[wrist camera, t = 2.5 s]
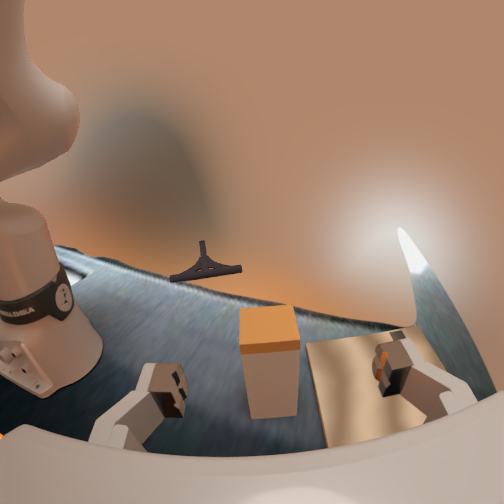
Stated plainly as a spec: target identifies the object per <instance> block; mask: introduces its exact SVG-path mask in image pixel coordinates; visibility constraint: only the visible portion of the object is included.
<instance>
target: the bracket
mask: <svg viewBox="0 0 504 504" xmlns="http://www.w3.org/2000/svg"><path fill="white" fill-rule="evenodd" d="M199 243H200V252H201V257H200V258H199V260H198V261H197V263H196V264H195V265H194V266H192V267H191V268H189V269H188V270H186V271H184V272H182V273H180V274H177V275H170V282H178V281H192V280H198V279H204V278H211V277H217V276H224V275H230V274H236V273H242V267H241V265H236V266H229V265H223V264H220V263H217V262H214V261H213V260H211V259H210V258H209V257H208V256H207V255H206V247H205V241H199ZM209 268H214V269H209ZM201 269H202V270H201ZM198 270H201V271H198Z"/></svg>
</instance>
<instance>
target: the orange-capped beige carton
mask: <svg viewBox="0 0 504 504" xmlns="http://www.w3.org/2000/svg"><path fill="white" fill-rule="evenodd" d="M239 345H240V352H241V358H242V365H243V371H244V378H245V384H246V390H247V396H248V402H249V408H250V414H251V419H263V418H276V417H287V416H296V415H297V403H298V384H299V361H300V336H299V332H298V327H297V322H296V318H295V313H294V309H293V305H292V304H291V305H280V306H268V307H256V308H242V309H240V339H239Z"/></svg>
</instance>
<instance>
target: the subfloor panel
mask: <svg viewBox="0 0 504 504" xmlns="http://www.w3.org/2000/svg"><path fill="white" fill-rule="evenodd" d="M405 338H410V339H411V340H412V342H413V344H414V345H415V347H416V349H417V350H418V352H419V354H420V355H421V357H422V359H423V360H424V362H429V363H431V364H433V365H434V366H436V367H438V368H440V369H442V370H444V371H445V372H446V370H445V368H444V367H443V365H442V363H441V362H440V360H439V358H438V357H437V355H436V353H435V352H434V350H433V349H432V347H431V345H430V344H429V342H428V341H427V339H426V338H425V336H424V335H423V333H422V332H421V330H420V328H419V327H418V325H417V326H412V327H407V328H402V329H397V330H392V331H386V332H381V333H375V334H369V335H363V336H356V337H350V338H343V339H336V340H328V341H320V342H312V343H306V354H307V358H308V363H309V367H310V372H311V376H312V381H313V386H314V390H315V395H316V400H317V405H318V410H319V415H320V419H321V424H322V429H323V434H324V440H325V445H326V449H327V448H333V447H338V446H343V445H348V444H353V443H358V442H362V441H367V440H371V439H375V438H379V437H383V436H386V435H390V434H393V433H397V432H400V431H404V430H407V429H410V428H413V427H416V426H419V425H422V424H423V423H424V421H425V419H426V418H427V416H426V415H425V414H423V413H422V412H421V411H420V410H418V409H417V408H416V407H415V406H413V405H412V404H411V403H410V402H408V401H407V400H406V399H405V398H403V397H402V396H401V395H400V394H397V395H393V396H388V397H384V398H382V395H381V393H380V390H379V388H378V385H379V381H378V380H376V379H375V378H374V375H373V371H372V361H373V358H374V357H375V356H376V352H375V349H376V346H377V344H382V343H386V342H391V341H396V340H400V339H405Z"/></svg>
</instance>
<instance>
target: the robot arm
mask: <svg viewBox="0 0 504 504" xmlns="http://www.w3.org/2000/svg"><path fill="white" fill-rule="evenodd" d="M79 118H80V114H79V108H78V104H77V102H76V99H75V98H74V96H73V94H72V93H71V92H70V91H69V90H68V89H67V88H66V87H65V86H64V85H62V84H60V83H58V82H55V81H53V80H51V79H50V78H48V77H47V76H46V75H44V74H43V73H42V72H41V71H40V70H39V69H38V68H37V66H36V65H35V64H34V62H33V61H32V59H31V57H30V55H29V53H28V50H27V47H26V43H25V38H24V0H0V182H1V181H4V180H6V179H9V178H11V177H13V176H16V175H19V174H22V173H24V172H27V171H30V170H32V169H35V168H38V167H40V166H42V165H44V164H46V163H47V162H49V161H51V160H53V159H55V158H57V157H58V156H60V155H62V154H64V153H65V152H67V151H69V149H70V148H71V146H72V144H73V143H74V141H75V138H76V136H77V132H78V128H79V122H80V119H79ZM102 348H103V343H102V339H101V337H100V335H99V334H98V333H97V332H96V331H95V330H94V328H93V327H92V326H91V323H90V321H89V319H88V318H87V317H86V316H85V315H84V313H83V312H82V310H81V308H80V307H79V305H78V303H77V301H76V300H75V298H74V296H73V294H72V290H71V285H70V283H69V280H68V278H67V274H66V271H65V270H64V268H63V265H62V264H61V263H60V262H59V261H58V259H57V256H56V253H55V250H54V246H53V243H52V240H51V237H50V234H49V230H48V227H47V223H46V220H45V218H44V217H43V215H41V213H40V212H39V211H38V210H36V209H35V208H33V207H30V206H26V205H21V204H14V203H8V202H5V201H3V200H2V199H1V198H0V375H2V376H3V377H5V378H7V379H8V380H10V381H11V382H13V383H15V384H16V385H18V386H20V387H21V388H23V389H25V390H27V391H28V392H30V393H32V394H34V395H36V396H38V397H39V398H46V397H48V396H50V395H51V394H52V393H54V392H55V391H56V390H57V389H59V388H61V387H64V386H67V385H69V384H72V383H74V382H76V381H77V380H79V379H81V378H82V377H84V376H85V375H86V374H87V373H88V372H89V371H90V370H91V369H92V368H93V367H94V366H95V364H96V363H97V361H98V360H99V358H100V356H101V353H102ZM375 352H376V356H375V357H374V358H373V361H372V371H373V375H374V378H375V379H376V380H378V381H379V385H378V388H379V390H380V393H381V395H382V398H384V397H388V396H393V395H397V394H400V395H401V396H402V397H403V398H405V399H406V400H407V401H408V402H410V403H411V404H412V405H413V406H415V407H416V408H417V409H418V410H420V411H421V412H422V413H423V414H425V415H426V416H427V418H426V419H425V421H424V423H423V424H422V425H419V426H416V427H413V428H410V429H407V430H404V431H400V432H397V433H393V434H390V435H386V436H383V437H379V438H375V439H371V440H367V441H362V442H358V443H353V444H348V445H343V446H338V447H333V448H327V449H321V450H314V451H307V452H299V453H290V454H280V455H268V456H252V457H194V456H177V455H165V454H155V453H148V452H147V451H146V450H145V449H144V447H143V446H142V443H143V442H144V441H145V440H146V439H147V438H148V437H149V435H150V434H151V433H152V432H153V431H154V430H155V429H156V428H157V426H158V425H159V424H160V423H161V422H162V421H163V419H164V417H173V418H183V416H184V411H185V403H184V401H183V400H184V399H185V398H186V397H187V393H188V385H187V380H186V377H185V376H184V375H182V370H183V369H182V367H181V364H172V363H145V365H144V366H143V369H142V372H141V375H140V378H139V381H138V384H137V387H136V390H135V391H131V392H130V393H129V394H128V395H126V396H125V397H124V398H123V399H121V400H120V401H119V402H118V403H117V404H115V405H114V406H113V407H112V408H110V409H109V410H108V411H107V412H105V413H104V414H103V415H102V416H100V417H99V418H98V419H97V420H96V422H95V424H94V427H93V430H92V432H91V435H90V438H89V441H88V442H85V441H81V440H77V439H73V438H70V437H66V436H62V435H59V434H55V433H52V432H49V431H46V430H42V429H39V428H37V427H34V426H31V425H27V424H24V425H21V426H19V427H17V428H15V429H14V430H12V431H11V432H9V433H7V434H6V435H4V436H3V437H1V438H0V504H504V389H503V390H501V391H500V392H497V393H495V394H494V395H492V396H490V397H488V398H485V399H483V400H481V401H479V402H478V401H477V400H476V398H475V396H474V395H473V393H472V391H471V389H470V388H469V386H468V384H467V383H466V382H464V381H462V380H460V379H458V378H456V377H455V376H453V375H451V374H449V373H447V372H445V371H444V370H442V369H440V368H438V367H436V366H434V365H433V364H431V363H429V362H424V360H423V359H422V357H421V355H420V354H419V352H418V350H417V349H416V347H415V345H414V344H413V342H412V340H411V339H410V338H405V339H400V340H396V341H391V342H386V343H382V344H377V346H376V349H375Z"/></svg>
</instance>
